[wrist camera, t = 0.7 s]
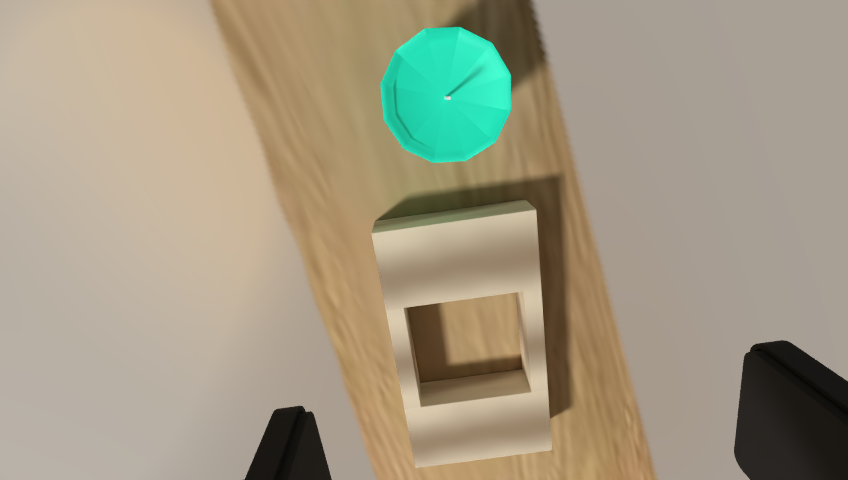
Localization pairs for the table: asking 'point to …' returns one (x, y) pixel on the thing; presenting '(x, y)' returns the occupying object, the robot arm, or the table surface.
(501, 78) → the candle
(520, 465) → the table surface
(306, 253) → the table surface
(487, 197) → the table surface
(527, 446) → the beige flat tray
